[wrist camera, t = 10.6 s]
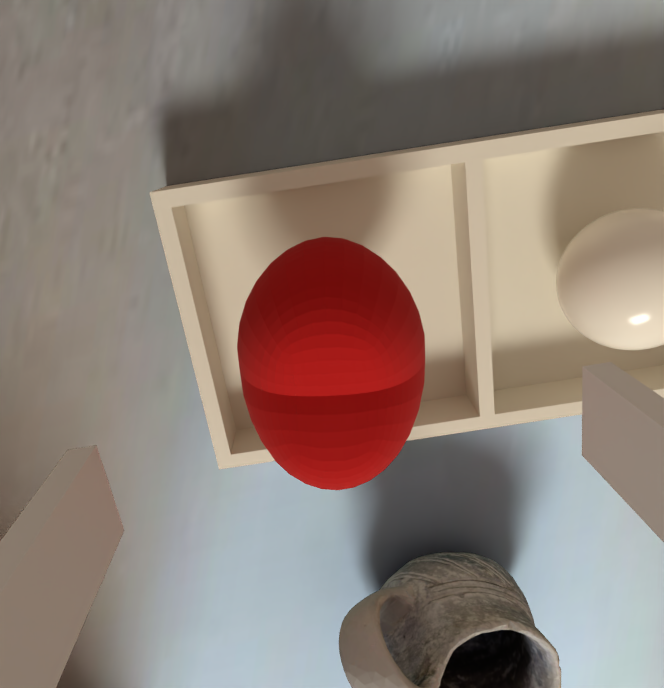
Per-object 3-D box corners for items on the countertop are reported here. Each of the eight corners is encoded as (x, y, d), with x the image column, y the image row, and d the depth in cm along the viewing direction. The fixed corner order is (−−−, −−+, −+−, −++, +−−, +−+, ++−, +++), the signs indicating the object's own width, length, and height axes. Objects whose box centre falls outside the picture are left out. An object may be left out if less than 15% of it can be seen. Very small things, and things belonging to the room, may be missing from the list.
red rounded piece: (248, 210, 25) (198, 267, 16) (405, 201, 25) (447, 253, 16) (268, 396, 29) (237, 530, 19) (406, 389, 29) (441, 521, 19)
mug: (452, 669, 37) (504, 854, 27) (284, 597, 34) (277, 775, 24) (545, 564, 34) (638, 729, 25) (371, 477, 31) (400, 624, 22)
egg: (535, 333, 28) (594, 383, 22) (533, 211, 26) (597, 232, 20) (655, 314, 28) (744, 360, 22) (663, 191, 26) (763, 206, 20)
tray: (226, 438, 30) (219, 469, 27) (166, 186, 25) (149, 192, 22) (715, 363, 30) (758, 387, 27) (742, 96, 25) (797, 92, 22)
